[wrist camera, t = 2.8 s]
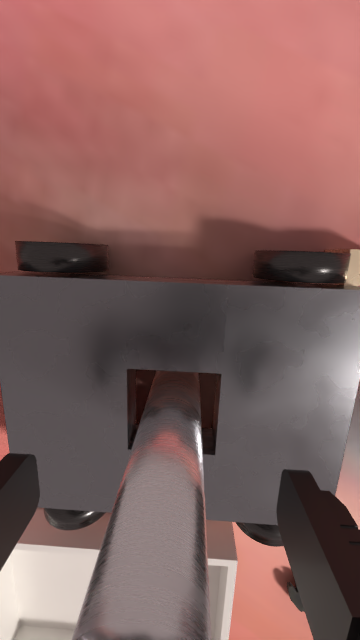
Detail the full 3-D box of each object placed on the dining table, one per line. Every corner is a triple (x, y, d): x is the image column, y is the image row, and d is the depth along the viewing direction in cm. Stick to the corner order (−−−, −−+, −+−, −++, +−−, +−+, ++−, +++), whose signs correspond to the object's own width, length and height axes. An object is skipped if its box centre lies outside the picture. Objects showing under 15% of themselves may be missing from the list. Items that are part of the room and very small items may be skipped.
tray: (230, 512, 19) (237, 560, 16) (218, 633, 22) (222, 693, 19) (3, 496, 19) (-31, 539, 16) (21, 615, 22) (-5, 671, 19)
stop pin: (200, 356, 16) (217, 629, 4) (197, 396, 17) (208, 728, 5) (156, 354, 16) (59, 616, 4) (155, 393, 17) (69, 713, 5)
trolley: (371, 251, 14) (438, 250, 10) (324, 487, 18) (361, 553, 14) (35, 239, 15) (-20, 234, 11) (56, 469, 18) (19, 526, 15)
